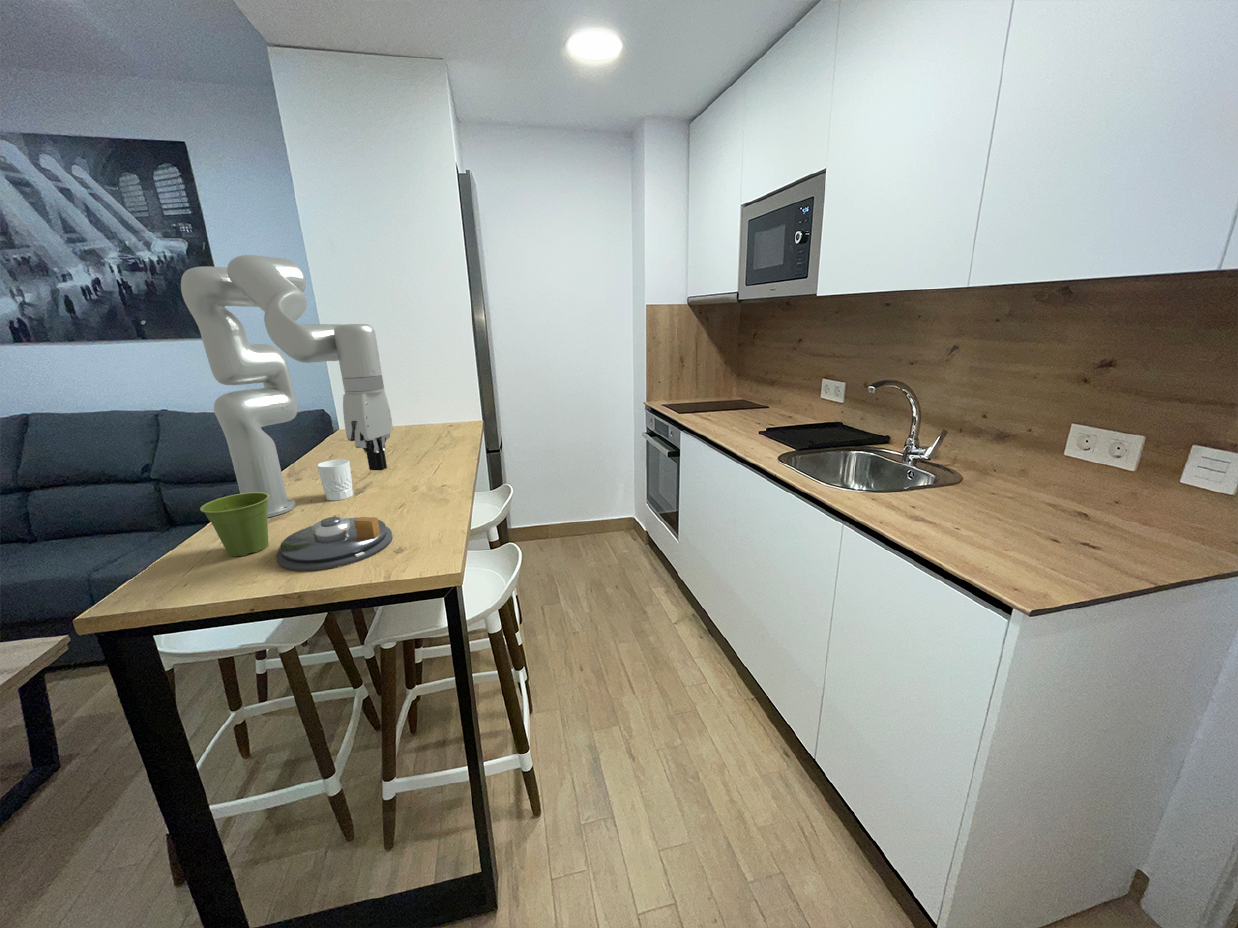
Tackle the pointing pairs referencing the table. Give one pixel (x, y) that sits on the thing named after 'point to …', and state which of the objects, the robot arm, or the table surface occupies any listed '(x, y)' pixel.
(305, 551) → the turntable
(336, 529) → the cover
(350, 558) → the turntable base
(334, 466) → the white cup
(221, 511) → the plant pot
